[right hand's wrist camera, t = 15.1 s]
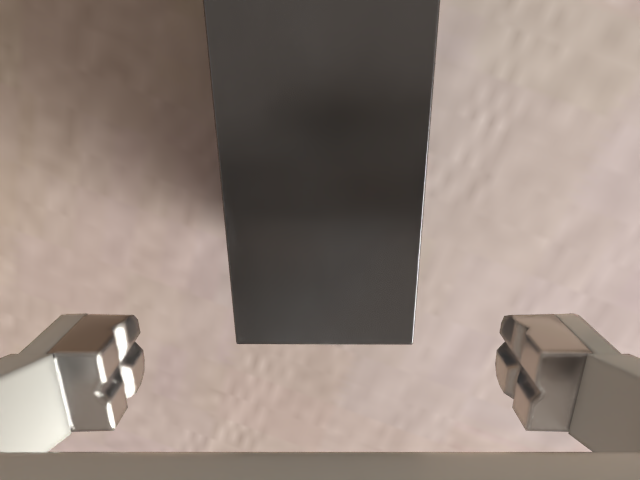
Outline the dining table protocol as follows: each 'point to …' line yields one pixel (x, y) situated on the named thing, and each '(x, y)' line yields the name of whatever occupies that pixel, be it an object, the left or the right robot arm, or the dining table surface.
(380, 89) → the bar
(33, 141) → the dining table surface
